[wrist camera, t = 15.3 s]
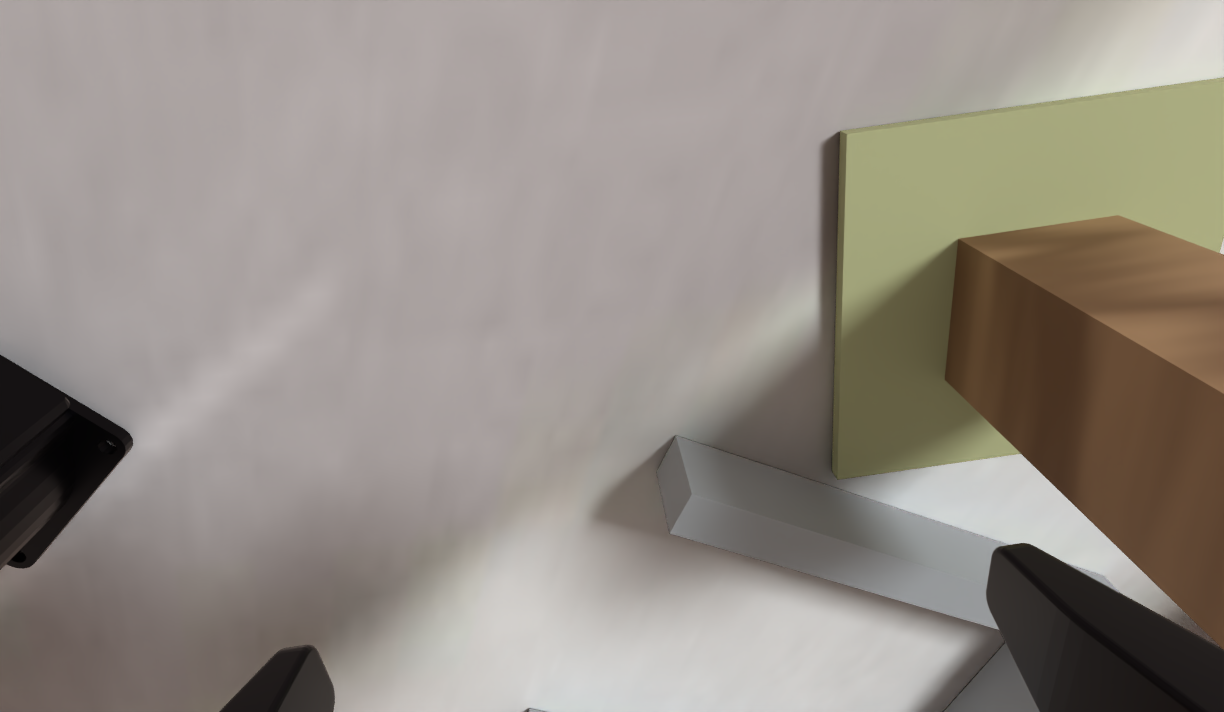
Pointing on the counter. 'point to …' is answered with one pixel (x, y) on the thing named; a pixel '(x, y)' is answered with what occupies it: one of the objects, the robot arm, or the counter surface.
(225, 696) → the counter surface
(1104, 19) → the counter surface
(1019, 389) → the walnut block
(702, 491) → the channel
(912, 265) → the mat
